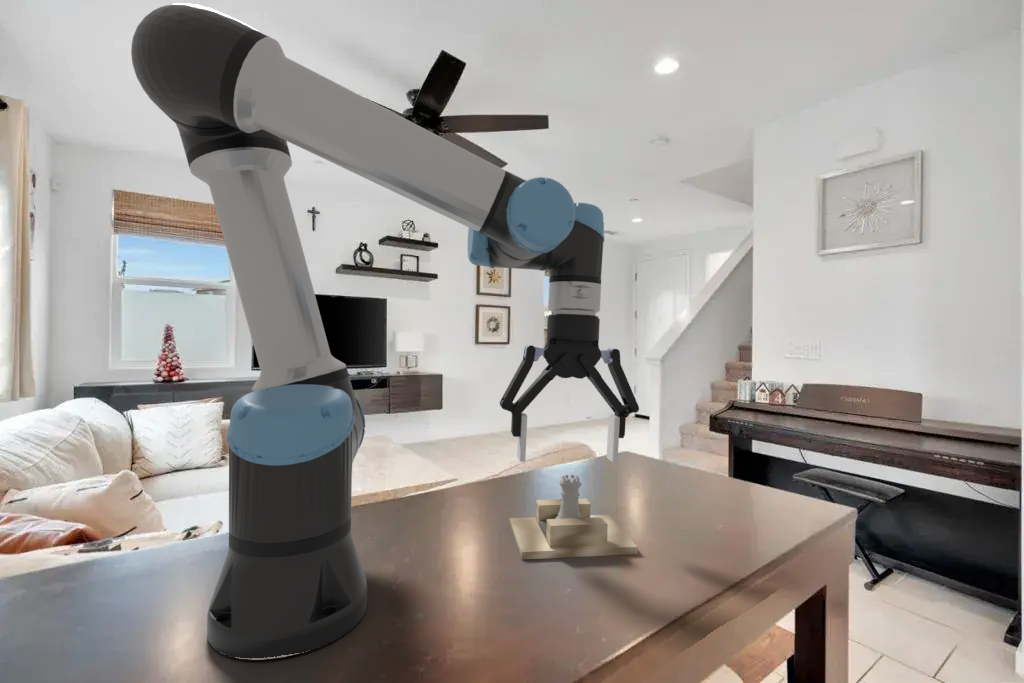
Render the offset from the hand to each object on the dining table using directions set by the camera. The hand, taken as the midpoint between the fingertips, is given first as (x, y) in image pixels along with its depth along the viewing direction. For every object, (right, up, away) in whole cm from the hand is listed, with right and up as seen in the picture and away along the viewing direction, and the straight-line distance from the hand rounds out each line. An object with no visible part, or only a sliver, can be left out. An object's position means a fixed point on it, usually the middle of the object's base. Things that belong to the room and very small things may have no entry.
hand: (567, 459), depth 72 cm
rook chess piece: (0, -11, 0) cm, 11 cm away
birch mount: (0, -12, 0) cm, 12 cm away
